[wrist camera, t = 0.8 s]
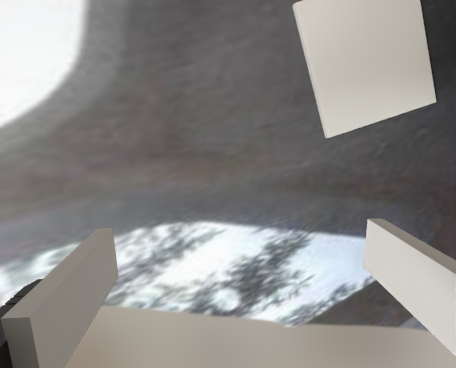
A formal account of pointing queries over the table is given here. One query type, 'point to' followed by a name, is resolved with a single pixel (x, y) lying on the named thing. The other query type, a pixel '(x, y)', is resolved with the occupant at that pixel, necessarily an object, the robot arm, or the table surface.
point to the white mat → (365, 59)
